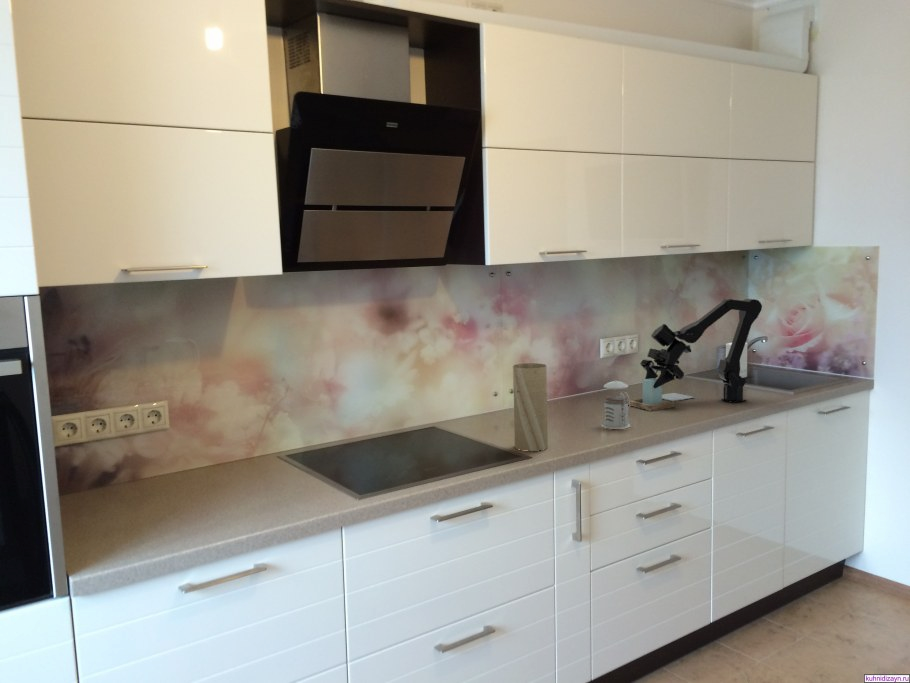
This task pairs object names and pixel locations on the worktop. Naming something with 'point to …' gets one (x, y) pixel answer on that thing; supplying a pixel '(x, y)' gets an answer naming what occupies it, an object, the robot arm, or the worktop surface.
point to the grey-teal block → (651, 392)
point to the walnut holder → (640, 404)
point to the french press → (616, 406)
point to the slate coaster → (675, 397)
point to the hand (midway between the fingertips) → (649, 386)
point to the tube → (530, 406)
